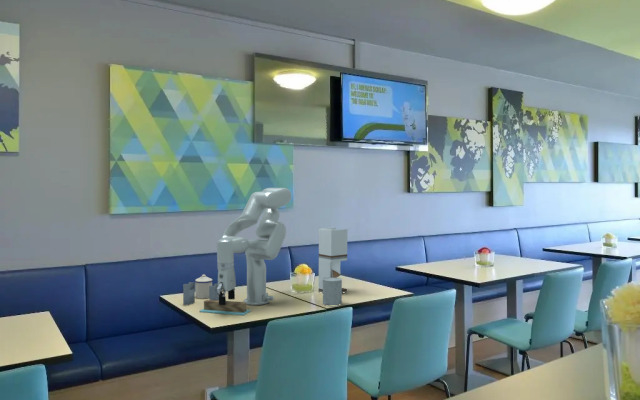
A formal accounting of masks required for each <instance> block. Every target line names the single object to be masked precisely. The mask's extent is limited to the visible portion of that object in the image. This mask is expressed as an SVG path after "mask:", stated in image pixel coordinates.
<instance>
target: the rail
mask: <svg viewBox="0 0 640 400" xmlns="http://www.w3.org/2000/svg"><path fill="white" fill-rule="evenodd" d="M203 309H204V310H216V311H229V312H242V313H244V312H246V310H247V304H246V302H244V301H233V300H226V305H219V300H209V299H205V300H204V301H203Z"/></svg>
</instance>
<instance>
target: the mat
mask: <svg viewBox="0 0 640 400" xmlns="http://www.w3.org/2000/svg"><path fill="white" fill-rule="evenodd" d="M251 311H252V310H251V309H246V312H244V313H242V312H229V311H216V310H204V308H202V309H200V310H199V312H198V313H208V314H220V315H232V316H233V315H235V316H246V315H247V314H249V313H250V312H251Z"/></svg>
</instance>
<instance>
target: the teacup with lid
mask: <svg viewBox="0 0 640 400" xmlns="http://www.w3.org/2000/svg"><path fill="white" fill-rule="evenodd" d="M194 282H195V298H196V299H199V298H200V299H203V300H204V299H205V300H206V299H209V286H213V282H214V280H213V279H212V278H210V277H208V276H206V274H202V275H201V276H200V277H198V278H196V279H195V280H194Z"/></svg>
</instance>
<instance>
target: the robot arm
mask: <svg viewBox="0 0 640 400" xmlns="http://www.w3.org/2000/svg"><path fill="white" fill-rule="evenodd" d="M291 200H292V192H291V190H290V189H288V188H286V187H267V188H264V189H262V191H255V192H253V193H251V195H250V197H249V199H248V201H247V202H246V204H245V207H244V208H243V211H242V212H241V214H240V215H239V217H237V218H236V219H234V220H233V221H232V222H231V223H230V224H229V225H228V226H227V227H226V229H225V230H224V232H223V234H222V236H221V238H220V239H218V240H217V241H216V258H217V260H216V261H217V270H218V271H217V284H218V288H217V292H218V297H219V305H226V301H227V299H226V292H227V298H228V300H232V301H233V300H235V299H236V297H235V296H236V294H235V290H236V286H237V279H236V271H235V259H234V257H235V255H234V254H242V253H244V254H245V258H246V259H245V260H246V298H245V299H244V300H243V302H246V305H249V306H261V305H266V304H269V303H270V301H274V299H275V297H274V296H273V295H269V293H268V292H267V265H266V263H265V260H268V261H273V260H275V259H276V257H278V255H279V253H280V250H281V248H282V246H283V243H284V241H285V238H286V236H287V235H286V234H287V228H286V226H285V223H282V222H281V221H279V219H280V211H279V209H278V208H280V207H284V206H286V205H287V204H289V203H290V202H291ZM262 212H263V213H262ZM260 217H261V218H260ZM257 223H258V225H257V226H256V230H255V236H256V237H257V238H258V239H257V238H254V239H249V240H248V239H247V238H246V237H243V236H237V235H238V234H239V233H241V232H242V231H244V230H246V229H249V228H251V227H253V226H255V225H256V224H257Z"/></svg>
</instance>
